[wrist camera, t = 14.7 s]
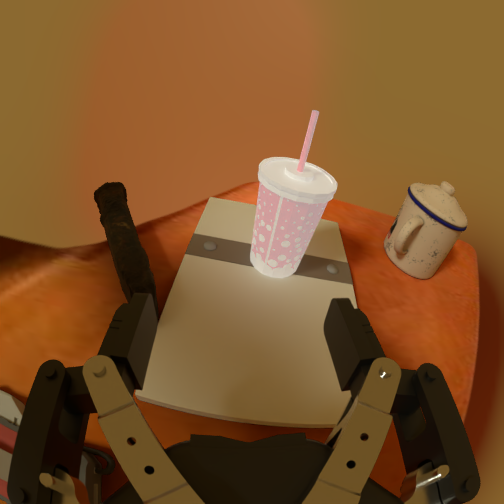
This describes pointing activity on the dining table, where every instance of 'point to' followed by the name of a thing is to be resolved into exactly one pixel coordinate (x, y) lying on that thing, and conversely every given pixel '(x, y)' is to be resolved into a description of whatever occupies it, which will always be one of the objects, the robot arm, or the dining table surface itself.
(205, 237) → the floor panel
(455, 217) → the teacup with lid
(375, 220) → the dining table surface
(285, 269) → the beverage cup
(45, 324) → the dining table surface
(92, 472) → the walkie-talkie
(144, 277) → the hand tool
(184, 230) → the dining table surface
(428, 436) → the robot arm
